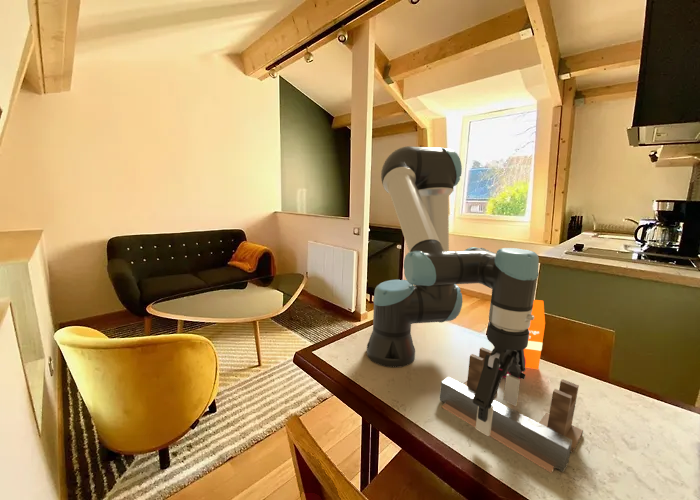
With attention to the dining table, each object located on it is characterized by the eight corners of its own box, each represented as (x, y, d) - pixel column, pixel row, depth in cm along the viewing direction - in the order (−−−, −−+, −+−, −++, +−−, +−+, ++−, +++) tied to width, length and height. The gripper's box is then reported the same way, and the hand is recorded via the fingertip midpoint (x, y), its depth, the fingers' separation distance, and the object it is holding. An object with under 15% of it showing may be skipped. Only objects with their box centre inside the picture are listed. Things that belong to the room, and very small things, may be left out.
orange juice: (500, 351, 100) (508, 293, 96) (531, 356, 98) (539, 296, 94) (506, 364, 92) (514, 301, 89) (538, 369, 90) (548, 305, 86)
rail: (439, 400, 76) (441, 381, 75) (446, 394, 78) (448, 376, 77) (563, 472, 57) (567, 449, 56) (568, 462, 59) (572, 439, 58)
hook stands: (458, 391, 80) (461, 352, 77) (471, 380, 84) (475, 343, 82) (573, 453, 61) (582, 404, 59) (582, 435, 66) (590, 389, 64)
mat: (441, 407, 74) (441, 405, 74) (454, 396, 78) (454, 395, 78) (551, 473, 57) (551, 471, 57) (560, 455, 61) (561, 453, 61)
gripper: (501, 352, 52) (488, 459, 56) (549, 314, 68) (536, 399, 72) (460, 336, 57) (451, 434, 61) (513, 305, 73) (503, 384, 77)
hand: (497, 416), depth 67 cm, fingers open, 13 cm apart
